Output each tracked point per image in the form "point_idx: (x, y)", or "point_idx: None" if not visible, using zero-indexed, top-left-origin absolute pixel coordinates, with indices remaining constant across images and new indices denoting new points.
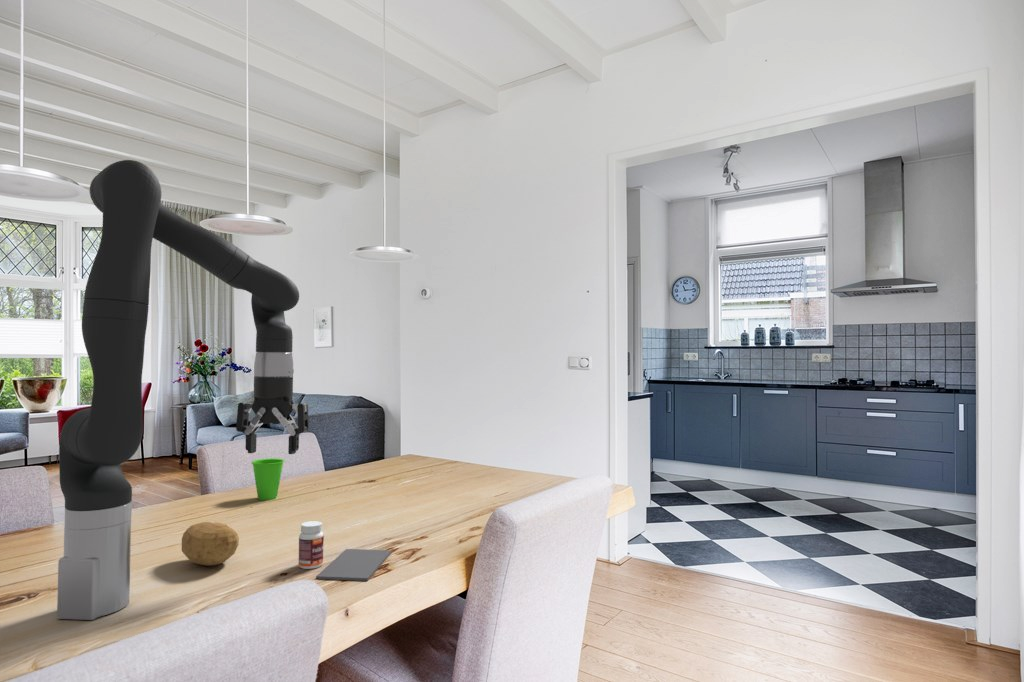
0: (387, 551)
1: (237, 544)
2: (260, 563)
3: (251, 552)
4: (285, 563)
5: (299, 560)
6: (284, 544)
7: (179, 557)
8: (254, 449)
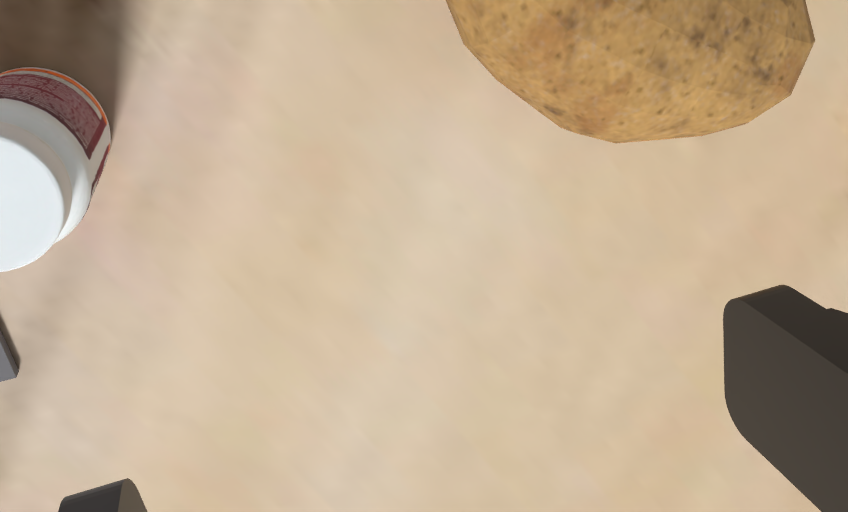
0: None
1: (456, 23)
2: (330, 75)
3: (481, 195)
4: (202, 115)
5: (66, 83)
6: (403, 340)
7: None
8: (751, 400)
